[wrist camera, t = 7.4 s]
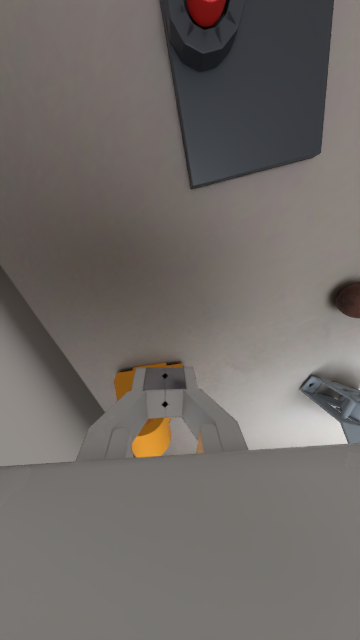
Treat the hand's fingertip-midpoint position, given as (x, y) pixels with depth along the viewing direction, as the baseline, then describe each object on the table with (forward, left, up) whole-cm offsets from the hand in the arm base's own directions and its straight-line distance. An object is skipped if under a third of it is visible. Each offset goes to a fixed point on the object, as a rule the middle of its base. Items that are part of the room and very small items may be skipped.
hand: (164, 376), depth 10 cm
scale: (+5, +21, -17) cm, 28 cm away
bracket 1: (+1, -17, -17) cm, 24 cm away
